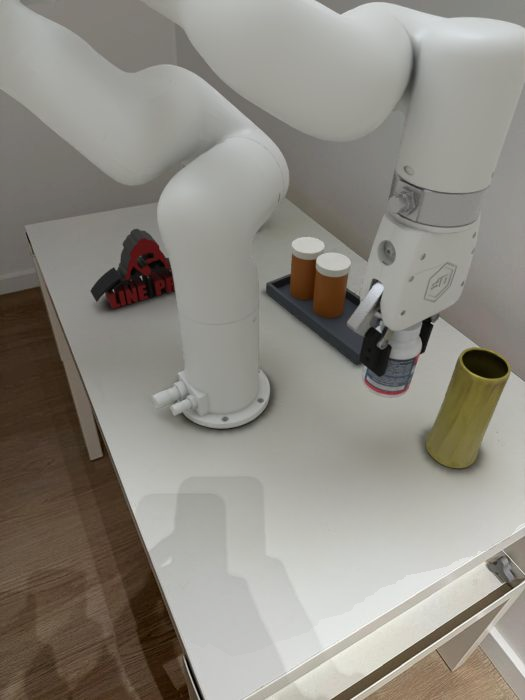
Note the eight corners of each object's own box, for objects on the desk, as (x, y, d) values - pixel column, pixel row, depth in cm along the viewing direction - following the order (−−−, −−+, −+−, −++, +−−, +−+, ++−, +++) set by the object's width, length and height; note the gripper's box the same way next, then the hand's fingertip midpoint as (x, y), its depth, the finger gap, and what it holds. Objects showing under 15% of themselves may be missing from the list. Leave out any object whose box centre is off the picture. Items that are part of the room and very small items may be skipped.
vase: (438, 422, 66) (468, 336, 57) (484, 446, 63) (524, 360, 54) (416, 451, 63) (445, 365, 53) (464, 478, 60) (503, 392, 51)
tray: (356, 364, 74) (358, 354, 73) (266, 292, 88) (266, 283, 87) (404, 338, 79) (407, 328, 78) (311, 274, 93) (312, 264, 91)
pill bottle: (413, 400, 55) (434, 337, 49) (364, 398, 55) (380, 335, 49) (404, 366, 59) (422, 304, 53) (358, 364, 59) (372, 302, 53)
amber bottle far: (302, 304, 85) (305, 256, 79) (283, 289, 88) (285, 242, 82) (326, 294, 87) (331, 246, 81) (306, 280, 90) (310, 233, 84)
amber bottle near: (326, 322, 81) (332, 274, 75) (305, 306, 84) (309, 258, 78) (350, 311, 83) (358, 263, 77) (329, 296, 87) (334, 249, 81)
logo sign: (99, 313, 83) (84, 252, 76) (93, 302, 85) (78, 242, 78) (201, 283, 90) (196, 225, 83) (192, 274, 92) (187, 216, 85)
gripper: (398, 243, 37) (357, 413, 49) (535, 189, 44) (471, 347, 56) (328, 203, 41) (307, 367, 53) (463, 160, 49) (418, 312, 61)
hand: (392, 355), depth 55 cm, fingers closed on pill bottle, 5 cm apart
